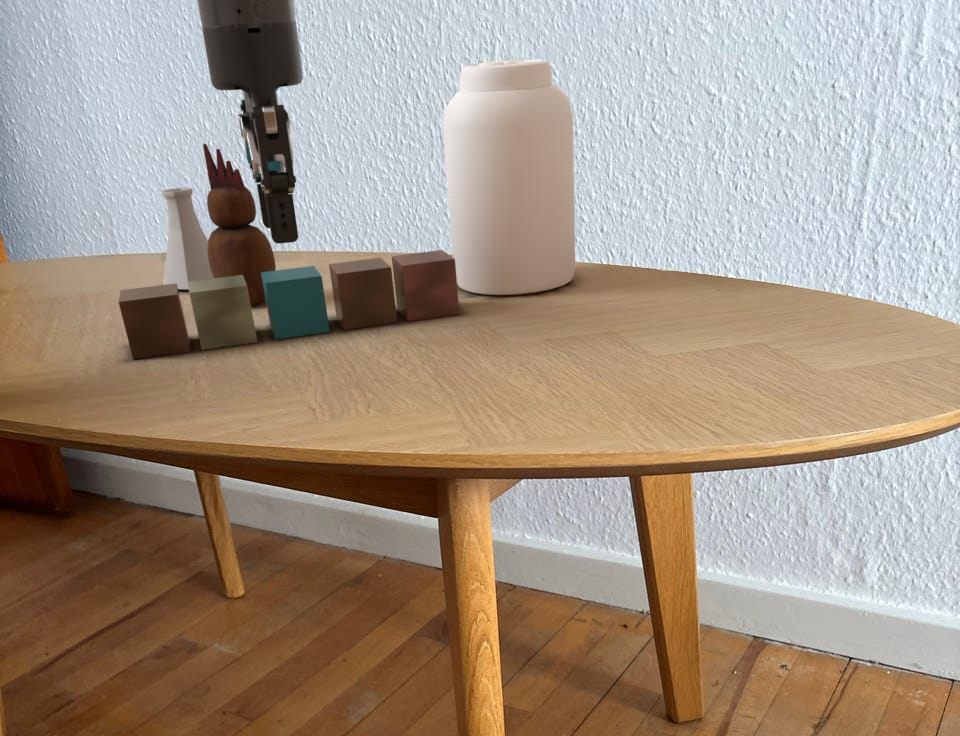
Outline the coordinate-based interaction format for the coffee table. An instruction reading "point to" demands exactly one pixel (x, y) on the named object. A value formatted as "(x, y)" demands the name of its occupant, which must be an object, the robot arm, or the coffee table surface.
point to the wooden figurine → (235, 229)
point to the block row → (228, 313)
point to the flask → (184, 241)
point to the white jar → (510, 179)
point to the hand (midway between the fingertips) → (280, 234)
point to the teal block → (295, 302)
